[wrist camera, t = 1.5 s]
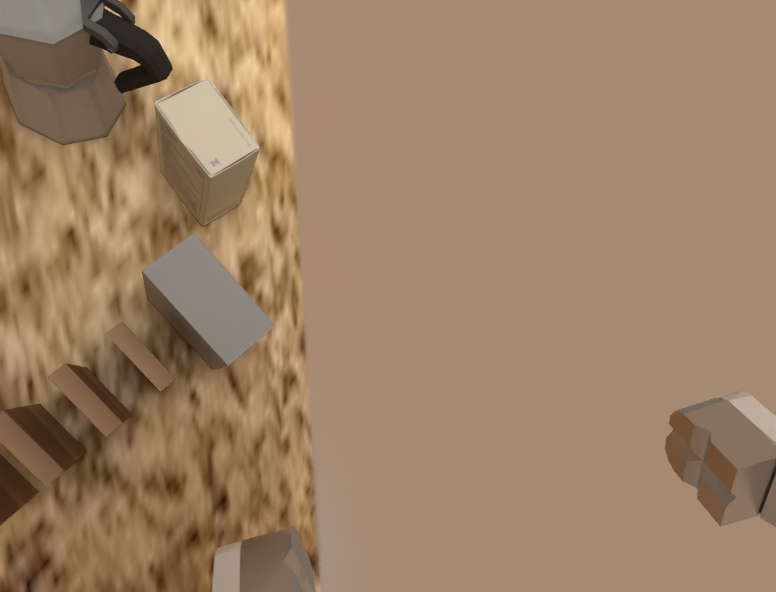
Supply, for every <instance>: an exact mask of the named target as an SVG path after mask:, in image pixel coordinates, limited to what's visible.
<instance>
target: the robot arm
mask: <svg viewBox="0 0 776 592" xmlns="http://www.w3.org/2000/svg"><path fill="white" fill-rule="evenodd" d="M669 424H670V426H671V427H672V428H673V431H672V432H671V433H670V434H669V435H668V436H667V438H666V445H665V450H666V454H667V457H668V461H669V462H670V464H671V466H672V468H673V470H674V471H675V472H676V474H677V475H678V476H679V477H680V479H681V480H682V481H684V482H686V483H688V484H690V485H692V486H694V487H696V488H697V499H698V500H699V501H700V503H701V504H702V505H703V506H704V508H705V509H706V510H707V511H708V512H709V513H710V515H711V516H712V517H713V518H714V519H715V521H716V522H717V523H718V524H719V525H720V526H724V525H728V524H731V523H734V522H738V521H741V520H745V519H748V518H752V517H755V516H759V515H760V518H761V519H763V520H765V521H766V522H768V523H770V524H772V525H773V526H775V527H776V416H774V415H773V414H772V413H771V412H770V411H769V410H767V409H766V408H765V407H764V406H763V405H762V404H760V403H759V402H758V401H757V400H756V399H755V398H753V397H752V396H751V395H750V394H748V393H745V392H743V391H740V392H735V393H732V394H729V395H726V396H723V397H720V398H714V399H711V400H708V401H704V402H701V403H699V404H695V405H692V406H689V407H686V408H682V409H679V410H676V411H674V412H673V413H672V414H671V415H670V420H669ZM212 592H315V586H314V578H313V573H312V568H311V564H310V560H309V557H308V554H307V552H306V550H305V548H304V547H301V546H300V545H299V535H298V533H297V531H296V529H295V527H294V526H292V527H289V528H285V529H282V530H278V531H275V532H271V533H268V534H264V535H261V536H257V537H254V538H250V539H247V540H242V541H239V542H236V543H232V544H229V545H226V546H222V547H219V548H217V551H216V554H215V557H214V567H213V580H212Z"/></svg>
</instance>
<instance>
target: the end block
mask: <svg viewBox="0 0 776 592" xmlns="http://www.w3.org/2000/svg"><path fill="white" fill-rule="evenodd" d="M142 274H143V279H144V284H145V289H146V294H147V298H148V300H149V301H150V302H151V303H152V304H153V305H154V306H155V307H156V308H157V309H158V310H159V312H160V313H161V314H162V315H163V316H164V317H165V318H166V319H167V320H168V321H169V322H170V324H171V325H172V326H173V327H174V328H175V329H176V330H177V331H178V332H179V333H180V334H181V336H182V337H183V338H184V339H185V340H186V341H187V342H188V343H189V344H190V345H191V347H192V348H193V349H194V350H195V351H196V352H197V353H198V354H199V355H200V356H201V357H202V359H203V360H204V361H205V362H206V363H207V364H208V365H209V366H210V367H211V368H212V369H213V370H214V369H218V368H222V367H226V366H229V365H230V364H231V363H232V362H233V361H235V360H236V359H237V358H238V357H239V356H240V355H242V354H243V353H244V352H245V351H246V350H247V349H248V348H250V347H251V346H252V345H253V344H254V343H255V342H257V341H258V340H259V339H260V338H261V337H262V336H264V335H265V334H266V333H267V332H268V331H269V330H270V329H272V328H273V327H274V326H275V325H274V324H273V322H272V321H271V320H270V319H269V318H268V317H267V316H266V314H265V313H264V312H263V311H262V310H261V309H260V308H259V306H258V305H257V304H256V303H255V302H254V301H253V300H252V299H251V297H250V296H249V295H248V294H247V293H246V292H245V291H244V289H243V288H242V287H241V286H240V285H239V284H238V283H237V281H236V280H235V279H234V278H233V277H232V276H231V275H230V273H229V272H228V271H227V270H226V269H225V268H224V267H223V266H222V264H221V263H220V262H219V261H218V260H217V259H216V258H215V256H214V255H213V254H212V253H211V252H210V251H209V250H208V248H207V247H206V246H205V245H204V244H203V243H202V242H201V240H200V239H199V238H198V237H197V236H196V235H195V234H194V233H193V234H192V235H191V236H189V237H188V238H186V239H185V240H184V241H182V242H181V243H179V244H178V245H177V246H175V247H174V248H173V249H171V250H170V251H168V252H167V253H166V254H164V255H163V256H161V257H160V258H159V259H157V260H156V261H154V262H153V263H152V264H150V265H149V266H147V267H146V268H145V269H143V270H142Z"/></svg>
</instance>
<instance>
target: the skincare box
mask: <svg viewBox="0 0 776 592" xmlns="http://www.w3.org/2000/svg"><path fill="white" fill-rule="evenodd" d="M155 111H156V122H157V134H158V144H159V156H160V167H161V173H162V174H163V175H164V177H165V178H166V180H167V181H168V182H169V184H170V185H171V186H172V188H173V189H174V191H175V192H176V193H177V195H178V196H179V197H180V199H181V200H182V201H183V203H184V204H185V205H186V207H187V208H188V209H189V210H190V212H191V213H192V214H193V216H194V217H195V218H196V219H197V221H198V222H199V223H200V224H201V225H202V226H205V225H207V224H208V223H210V222H212V221H214V220H215V219H217V218H219V217H220V216H222V215H223V214H225V213H227V212H228V211H230V210H232V209H233V208H235V207H236V206H238V205H239V204H241V202H242V199H243V196H244V193H245V190H246V187H247V184H248V181H249V178H250V175H251V173H252V169H253V167H254V164H255V160H256V157H257V154H258V151H259V146H258V144H257V143H256V141H255V140H254V138H253V137H252V135H251V134H250V132H249V131H248V130H247V128H246V127H245V125H244V124H243V123H242V121H241V120H240V119H239V117H238V116H237V114H236V113H235V112H234V111H233V109H232V108H231V107H230V105H229V104H228V103H227V101H226V100H225V99H224V97H223V96H222V95H221V94H220V92H219V91H218V90H217V88H216V87H215V86H214V84H213V83H212V82H211V81H210V79H209V78H205V79H203V80H201V81H198V82H196V83H194V84H192V85H190V86H187V87H185V88H183V89H181V90H179V91H176V92H174V93H172V94H170V95H168V96H166V97H164V98H162V99H160V100H158V101H156V102H155Z"/></svg>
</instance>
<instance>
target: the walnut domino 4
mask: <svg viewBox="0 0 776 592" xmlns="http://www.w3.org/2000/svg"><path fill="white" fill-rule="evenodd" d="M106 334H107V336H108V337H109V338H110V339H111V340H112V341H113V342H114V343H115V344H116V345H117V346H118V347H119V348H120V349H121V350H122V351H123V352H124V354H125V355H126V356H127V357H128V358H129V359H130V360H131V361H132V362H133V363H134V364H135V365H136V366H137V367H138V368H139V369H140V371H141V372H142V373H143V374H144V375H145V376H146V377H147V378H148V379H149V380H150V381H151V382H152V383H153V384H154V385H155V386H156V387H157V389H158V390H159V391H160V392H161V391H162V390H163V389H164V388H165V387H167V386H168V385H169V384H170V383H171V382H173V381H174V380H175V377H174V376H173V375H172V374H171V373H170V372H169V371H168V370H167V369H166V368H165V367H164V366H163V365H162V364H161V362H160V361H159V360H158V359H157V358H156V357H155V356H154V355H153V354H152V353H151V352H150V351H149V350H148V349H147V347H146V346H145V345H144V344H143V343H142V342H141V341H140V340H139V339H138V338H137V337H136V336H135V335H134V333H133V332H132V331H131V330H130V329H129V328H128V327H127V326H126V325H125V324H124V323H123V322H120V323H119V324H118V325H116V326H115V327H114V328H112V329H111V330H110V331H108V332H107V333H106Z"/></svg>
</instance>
